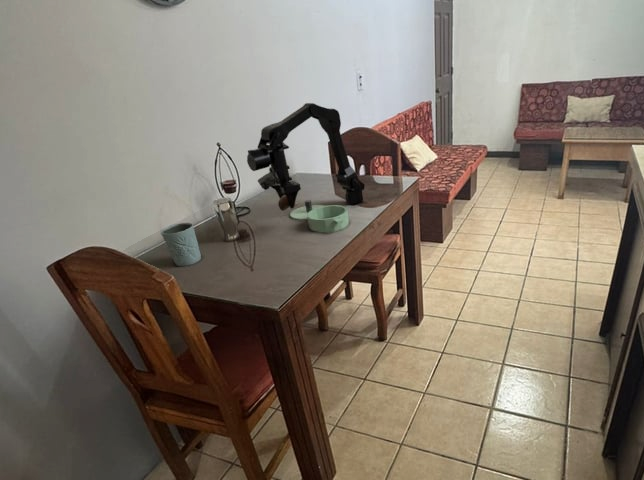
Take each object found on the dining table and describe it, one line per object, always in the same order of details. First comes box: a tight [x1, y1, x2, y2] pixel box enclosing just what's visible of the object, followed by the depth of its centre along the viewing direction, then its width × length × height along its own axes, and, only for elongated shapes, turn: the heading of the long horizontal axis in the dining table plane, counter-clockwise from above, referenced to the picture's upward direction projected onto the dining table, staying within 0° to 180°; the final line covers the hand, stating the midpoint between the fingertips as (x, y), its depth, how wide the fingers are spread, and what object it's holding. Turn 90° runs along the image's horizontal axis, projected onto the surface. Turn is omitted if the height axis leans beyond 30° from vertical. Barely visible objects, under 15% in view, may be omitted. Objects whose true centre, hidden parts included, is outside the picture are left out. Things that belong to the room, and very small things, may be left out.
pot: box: [307, 204, 350, 234], centre depth 161 cm, size 15×21×5 cm
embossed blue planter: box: [160, 222, 202, 267], centre depth 143 cm, size 10×10×12 cm
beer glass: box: [212, 196, 242, 243], centre depth 156 cm, size 7×7×15 cm
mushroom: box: [277, 195, 299, 212], centre depth 157 cm, size 8×8×6 cm
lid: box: [289, 199, 325, 221], centre depth 173 cm, size 16×16×6 cm
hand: (287, 205), depth 158 cm, fingers closed on mushroom, 8 cm apart
